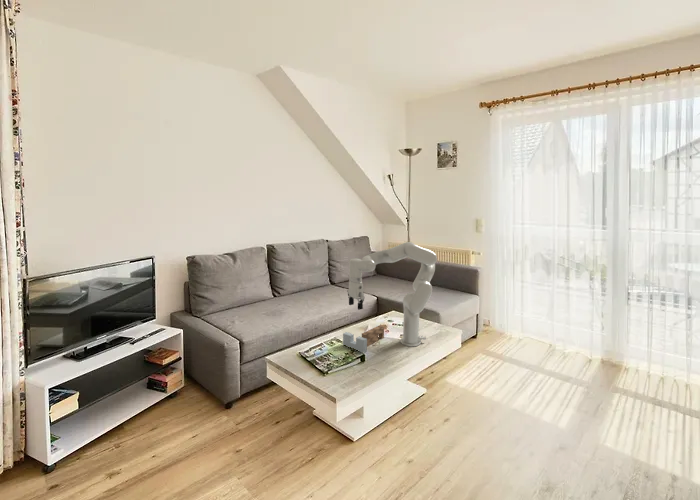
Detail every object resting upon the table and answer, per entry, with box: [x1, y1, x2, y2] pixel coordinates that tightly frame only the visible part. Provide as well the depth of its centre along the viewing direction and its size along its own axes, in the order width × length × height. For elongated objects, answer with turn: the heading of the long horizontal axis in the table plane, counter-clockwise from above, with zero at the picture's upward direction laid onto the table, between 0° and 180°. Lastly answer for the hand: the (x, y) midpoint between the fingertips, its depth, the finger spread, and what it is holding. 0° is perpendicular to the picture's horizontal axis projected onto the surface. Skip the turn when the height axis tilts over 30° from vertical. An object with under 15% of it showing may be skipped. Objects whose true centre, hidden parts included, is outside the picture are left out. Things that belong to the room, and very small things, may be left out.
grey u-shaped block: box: [342, 331, 368, 354], centre depth 232 cm, size 16×3×8 cm, turn 50°
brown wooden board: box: [361, 324, 385, 347], centre depth 242 cm, size 19×3×8 cm, turn 139°
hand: (355, 306), depth 234 cm, fingers open, 9 cm apart
